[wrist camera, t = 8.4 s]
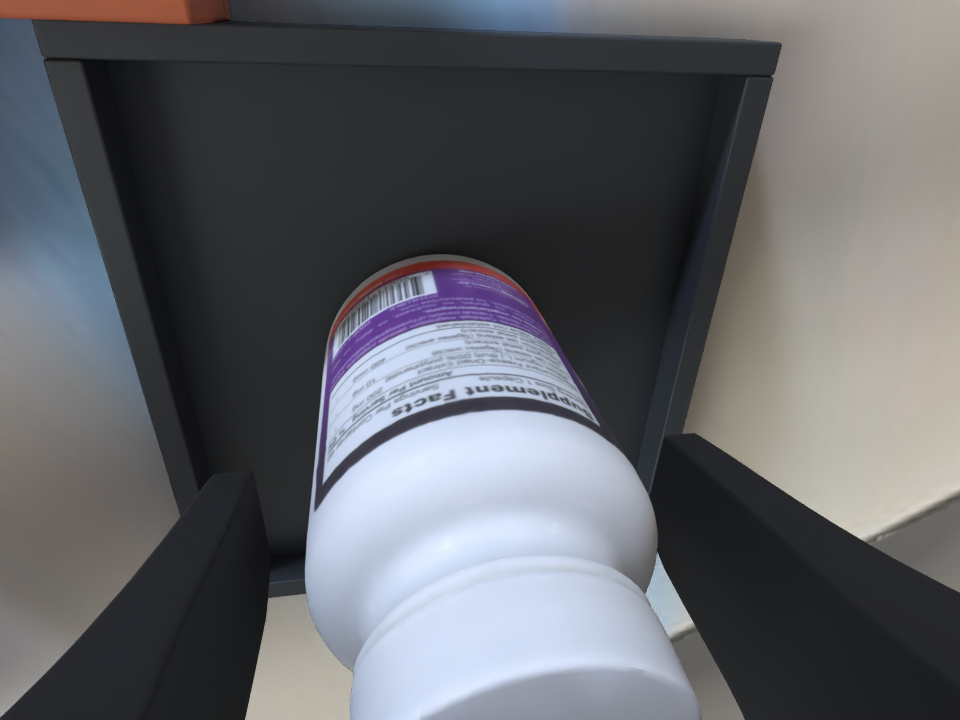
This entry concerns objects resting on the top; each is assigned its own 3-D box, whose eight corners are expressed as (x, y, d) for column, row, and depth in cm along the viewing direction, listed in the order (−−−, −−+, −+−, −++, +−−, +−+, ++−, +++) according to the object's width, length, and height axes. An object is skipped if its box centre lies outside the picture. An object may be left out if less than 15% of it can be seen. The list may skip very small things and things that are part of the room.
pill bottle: (515, 443, 17) (665, 866, 8) (317, 431, 15) (268, 918, 7) (567, 263, 14) (855, 616, 6) (336, 229, 13) (294, 625, 5)
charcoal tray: (634, 521, 20) (651, 554, 19) (216, 565, 18) (206, 606, 17) (744, 39, 13) (783, 42, 12) (66, 14, 11) (28, 16, 9)
